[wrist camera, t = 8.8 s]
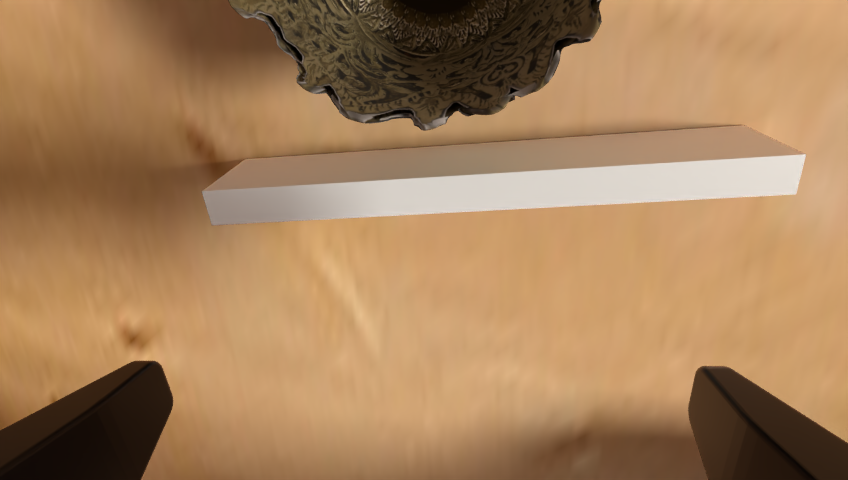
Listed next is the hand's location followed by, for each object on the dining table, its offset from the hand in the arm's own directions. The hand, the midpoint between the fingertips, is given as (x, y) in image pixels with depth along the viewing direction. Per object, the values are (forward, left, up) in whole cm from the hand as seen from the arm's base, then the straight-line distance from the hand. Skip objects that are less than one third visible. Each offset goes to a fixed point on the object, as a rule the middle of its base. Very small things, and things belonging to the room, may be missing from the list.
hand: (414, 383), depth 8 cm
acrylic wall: (-1, 0, -12) cm, 12 cm away
